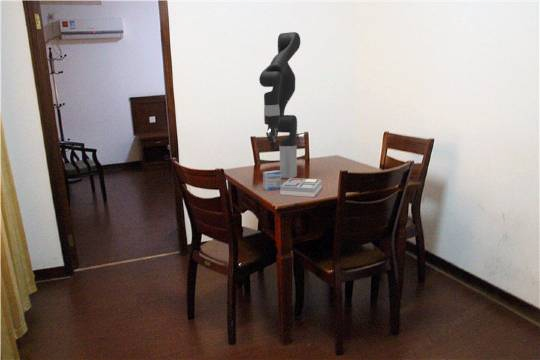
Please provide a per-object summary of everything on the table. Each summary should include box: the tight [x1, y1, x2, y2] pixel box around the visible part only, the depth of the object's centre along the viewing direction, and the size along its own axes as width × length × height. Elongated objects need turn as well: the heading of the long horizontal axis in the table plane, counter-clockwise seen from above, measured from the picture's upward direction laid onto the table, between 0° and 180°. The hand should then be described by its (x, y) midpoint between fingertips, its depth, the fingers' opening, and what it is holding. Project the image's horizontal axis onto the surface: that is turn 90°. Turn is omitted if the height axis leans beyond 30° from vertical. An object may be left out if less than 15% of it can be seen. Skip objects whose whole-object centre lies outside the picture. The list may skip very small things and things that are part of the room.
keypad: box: [279, 177, 323, 198], centre depth 191 cm, size 16×16×4 cm
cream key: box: [305, 178, 318, 183], centre depth 192 cm, size 5×5×2 cm
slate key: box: [285, 182, 298, 187], centre depth 188 cm, size 5×5×2 cm
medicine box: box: [262, 169, 282, 192], centre depth 196 cm, size 8×4×9 cm, turn 114°
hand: (273, 149), depth 200 cm, fingers closed
